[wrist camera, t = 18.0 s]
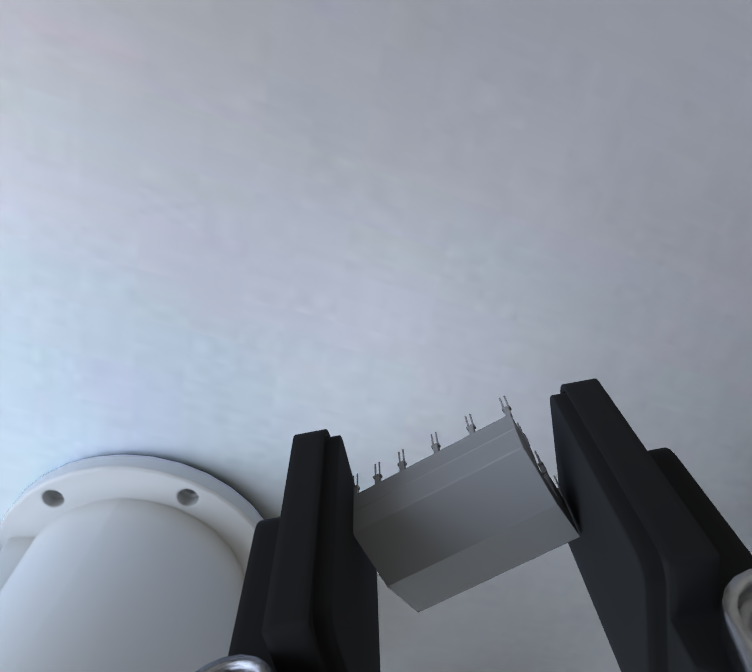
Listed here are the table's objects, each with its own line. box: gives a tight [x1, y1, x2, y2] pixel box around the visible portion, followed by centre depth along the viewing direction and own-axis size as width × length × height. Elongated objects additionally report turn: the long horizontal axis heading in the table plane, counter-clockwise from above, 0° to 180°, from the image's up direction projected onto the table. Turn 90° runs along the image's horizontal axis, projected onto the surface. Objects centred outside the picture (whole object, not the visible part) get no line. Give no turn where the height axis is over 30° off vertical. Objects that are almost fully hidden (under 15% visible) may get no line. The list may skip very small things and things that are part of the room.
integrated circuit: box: [353, 396, 580, 612], centre depth 10 cm, size 2×3×2 cm
